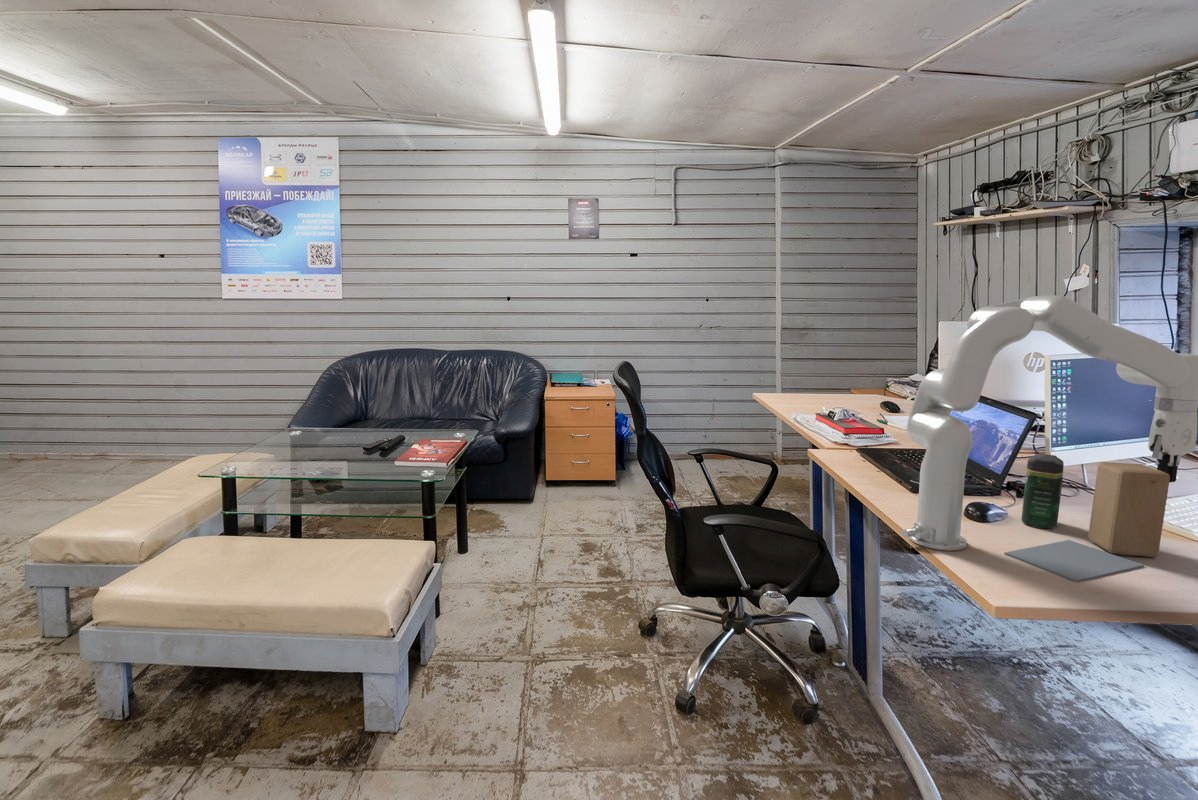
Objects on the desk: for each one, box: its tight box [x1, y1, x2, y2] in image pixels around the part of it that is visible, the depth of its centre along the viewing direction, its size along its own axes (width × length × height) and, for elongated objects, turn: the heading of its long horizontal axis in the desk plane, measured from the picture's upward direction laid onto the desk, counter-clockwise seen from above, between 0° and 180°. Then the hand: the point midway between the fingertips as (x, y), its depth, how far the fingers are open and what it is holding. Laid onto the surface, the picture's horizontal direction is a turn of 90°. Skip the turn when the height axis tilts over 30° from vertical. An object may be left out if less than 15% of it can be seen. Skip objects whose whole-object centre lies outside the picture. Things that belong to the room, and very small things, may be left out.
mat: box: [1004, 539, 1145, 583], centre depth 142 cm, size 22×16×1 cm
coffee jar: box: [1021, 453, 1064, 529], centre depth 164 cm, size 10×8×19 cm
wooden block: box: [1087, 461, 1170, 558], centre depth 146 cm, size 10×10×20 cm
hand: (1165, 480), depth 150 cm, fingers closed
